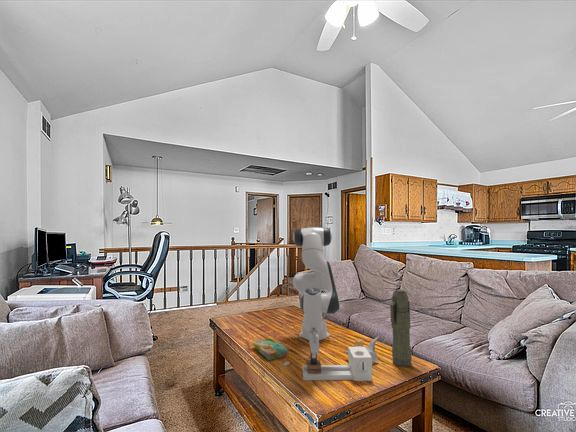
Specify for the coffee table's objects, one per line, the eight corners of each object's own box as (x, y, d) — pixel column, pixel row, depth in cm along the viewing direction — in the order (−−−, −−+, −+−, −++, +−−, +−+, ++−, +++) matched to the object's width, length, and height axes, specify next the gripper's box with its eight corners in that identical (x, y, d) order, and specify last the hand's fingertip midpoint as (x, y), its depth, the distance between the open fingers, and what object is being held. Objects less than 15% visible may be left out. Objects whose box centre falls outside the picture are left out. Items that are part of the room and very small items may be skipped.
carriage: (306, 365, 143) (306, 344, 143) (319, 365, 143) (319, 344, 143) (307, 373, 136) (307, 350, 136) (321, 372, 136) (320, 350, 136)
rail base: (302, 368, 145) (302, 347, 146) (365, 368, 145) (365, 346, 145) (303, 382, 132) (303, 358, 133) (372, 381, 132) (372, 358, 133)
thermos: (386, 363, 150) (384, 291, 152) (401, 357, 157) (399, 288, 158) (402, 369, 143) (400, 294, 144) (417, 363, 150) (414, 291, 151)
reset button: (354, 343, 142) (353, 338, 142) (362, 342, 142) (362, 338, 142) (355, 346, 138) (355, 341, 138) (364, 346, 138) (364, 341, 138)
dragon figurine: (353, 351, 166) (350, 334, 166) (382, 353, 160) (379, 335, 160) (347, 365, 153) (344, 347, 152) (378, 368, 147) (376, 348, 146)
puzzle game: (267, 352, 154) (252, 340, 171) (267, 362, 154) (252, 349, 171) (287, 347, 160) (270, 336, 177) (287, 357, 160) (270, 344, 177)
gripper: (322, 332, 130) (322, 365, 129) (318, 318, 150) (318, 346, 150) (307, 332, 130) (308, 365, 129) (305, 318, 150) (305, 347, 150)
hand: (313, 355), depth 140 cm, fingers closed on carriage, 3 cm apart
